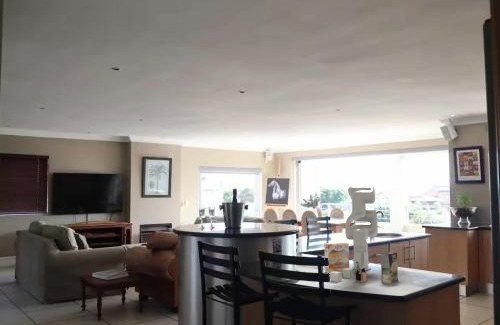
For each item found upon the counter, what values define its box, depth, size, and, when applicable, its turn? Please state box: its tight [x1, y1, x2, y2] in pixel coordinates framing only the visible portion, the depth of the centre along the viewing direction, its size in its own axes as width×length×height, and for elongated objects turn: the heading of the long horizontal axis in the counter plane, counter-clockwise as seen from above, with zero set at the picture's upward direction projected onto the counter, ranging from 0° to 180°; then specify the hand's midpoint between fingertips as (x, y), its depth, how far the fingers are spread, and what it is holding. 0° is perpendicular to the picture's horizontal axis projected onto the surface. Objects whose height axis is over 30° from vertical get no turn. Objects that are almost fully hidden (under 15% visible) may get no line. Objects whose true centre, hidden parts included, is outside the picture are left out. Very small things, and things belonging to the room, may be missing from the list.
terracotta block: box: [354, 271, 368, 283], centre depth 254 cm, size 5×5×5 cm
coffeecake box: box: [323, 242, 350, 274], centre depth 284 cm, size 15×7×20 cm, turn 101°
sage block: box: [341, 267, 354, 279], centre depth 268 cm, size 5×5×5 cm
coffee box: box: [380, 251, 399, 282], centre depth 257 cm, size 9×6×16 cm
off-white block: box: [329, 271, 343, 283], centre depth 257 cm, size 5×5×5 cm
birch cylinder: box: [381, 274, 393, 285], centre depth 247 cm, size 5×5×5 cm
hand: (361, 279), depth 254 cm, fingers open, 7 cm apart
